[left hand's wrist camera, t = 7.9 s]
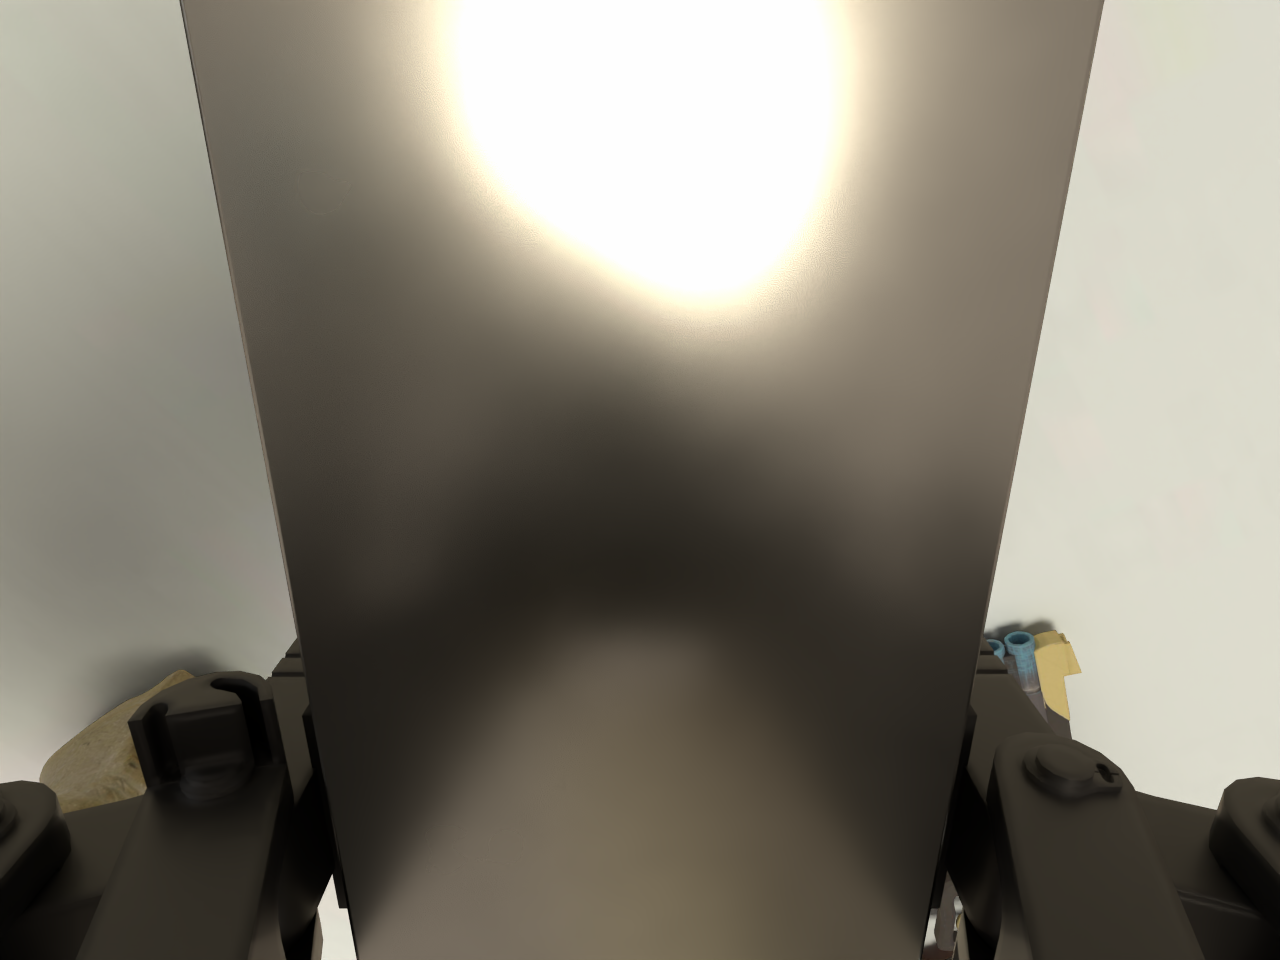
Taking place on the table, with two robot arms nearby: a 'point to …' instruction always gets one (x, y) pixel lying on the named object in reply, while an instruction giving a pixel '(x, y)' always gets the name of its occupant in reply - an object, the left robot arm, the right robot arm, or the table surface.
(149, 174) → the table surface
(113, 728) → the sculpture
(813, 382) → the bar
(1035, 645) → the toy gun
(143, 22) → the table surface
